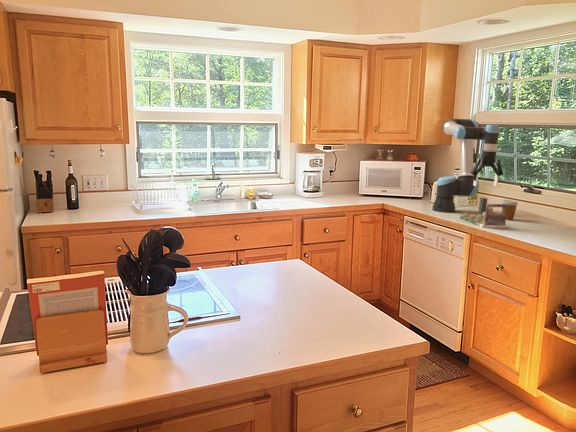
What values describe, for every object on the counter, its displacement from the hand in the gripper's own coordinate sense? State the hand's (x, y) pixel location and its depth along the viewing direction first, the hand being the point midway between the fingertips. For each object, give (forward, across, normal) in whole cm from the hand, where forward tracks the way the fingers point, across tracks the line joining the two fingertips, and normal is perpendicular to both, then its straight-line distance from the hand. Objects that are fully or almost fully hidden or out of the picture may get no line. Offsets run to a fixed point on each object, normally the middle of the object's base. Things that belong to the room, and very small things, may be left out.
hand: (485, 186), depth 290 cm
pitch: (+22, 0, -2) cm, 22 cm away
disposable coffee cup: (+23, +24, +9) cm, 34 cm away
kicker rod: (+20, 0, -4) cm, 21 cm away
